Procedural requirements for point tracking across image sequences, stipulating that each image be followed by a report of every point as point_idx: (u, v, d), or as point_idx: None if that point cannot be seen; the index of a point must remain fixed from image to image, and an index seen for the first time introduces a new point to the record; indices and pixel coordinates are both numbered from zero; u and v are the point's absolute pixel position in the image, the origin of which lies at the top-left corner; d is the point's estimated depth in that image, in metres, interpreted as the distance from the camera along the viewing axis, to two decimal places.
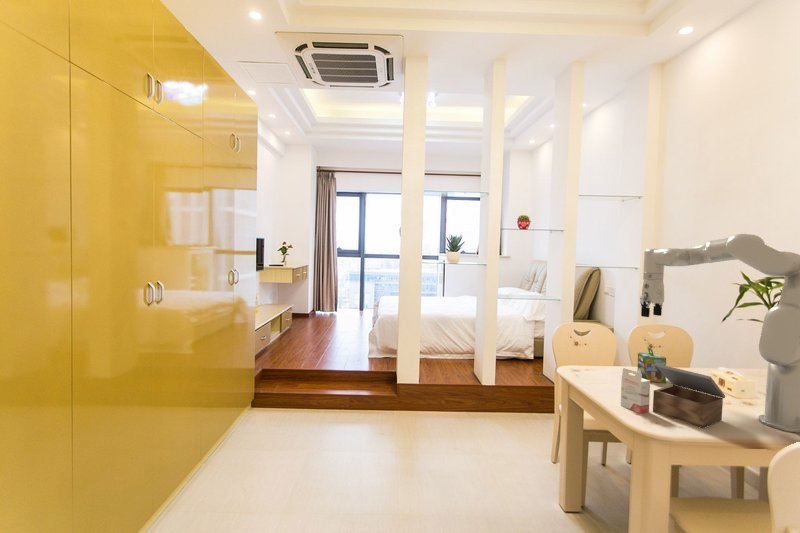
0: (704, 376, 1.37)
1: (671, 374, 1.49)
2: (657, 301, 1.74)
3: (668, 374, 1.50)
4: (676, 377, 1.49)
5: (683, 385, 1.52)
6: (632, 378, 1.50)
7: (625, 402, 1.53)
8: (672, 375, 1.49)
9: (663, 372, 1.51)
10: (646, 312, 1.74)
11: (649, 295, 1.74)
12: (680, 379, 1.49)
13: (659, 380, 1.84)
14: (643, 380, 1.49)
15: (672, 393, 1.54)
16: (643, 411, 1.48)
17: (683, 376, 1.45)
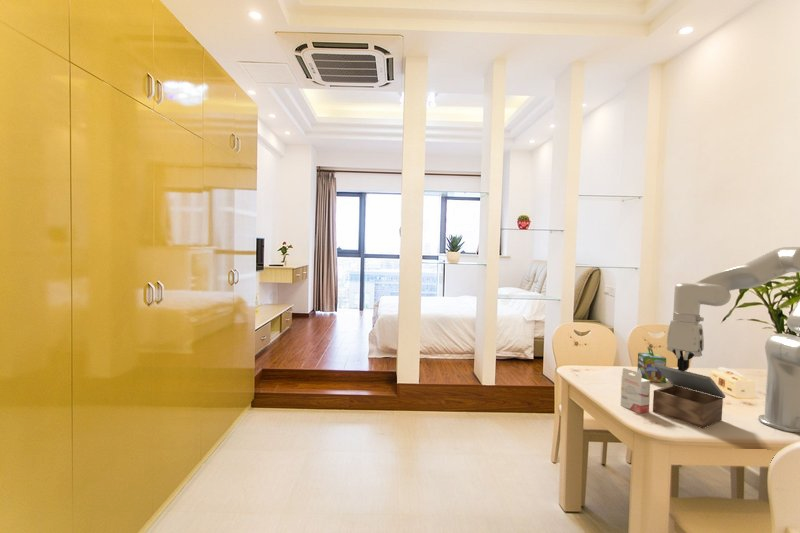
0: (704, 377, 1.37)
1: (671, 374, 1.49)
2: None
3: (668, 374, 1.50)
4: (676, 377, 1.49)
5: (683, 385, 1.52)
6: (632, 378, 1.50)
7: (625, 402, 1.53)
8: (672, 375, 1.49)
9: (663, 372, 1.51)
10: None
11: (700, 349, 1.40)
12: (680, 379, 1.49)
13: (659, 380, 1.84)
14: (643, 380, 1.49)
15: (672, 393, 1.54)
16: (643, 411, 1.48)
17: (682, 376, 1.45)
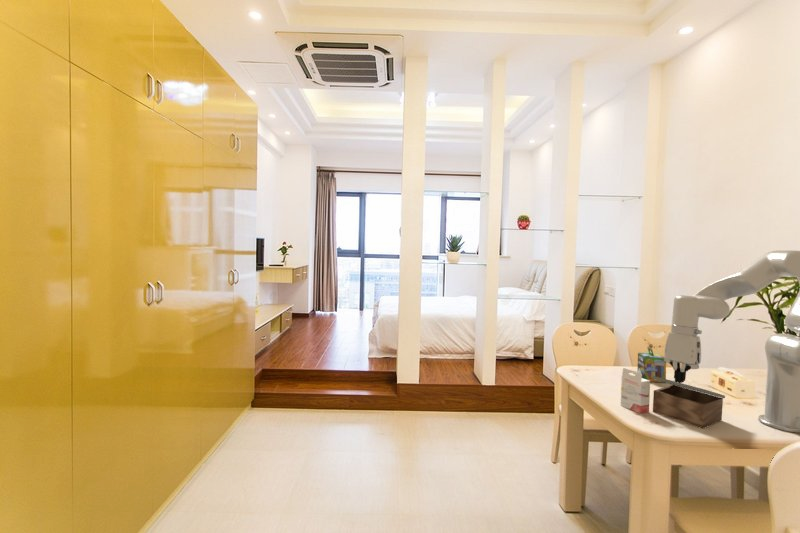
0: (700, 389, 1.36)
1: None
2: None
3: None
4: None
5: None
6: (632, 378, 1.50)
7: (625, 402, 1.53)
8: (670, 383, 1.48)
9: None
10: None
11: (697, 362, 1.40)
12: (678, 385, 1.48)
13: None
14: (643, 380, 1.49)
15: (672, 393, 1.54)
16: (643, 411, 1.48)
17: None
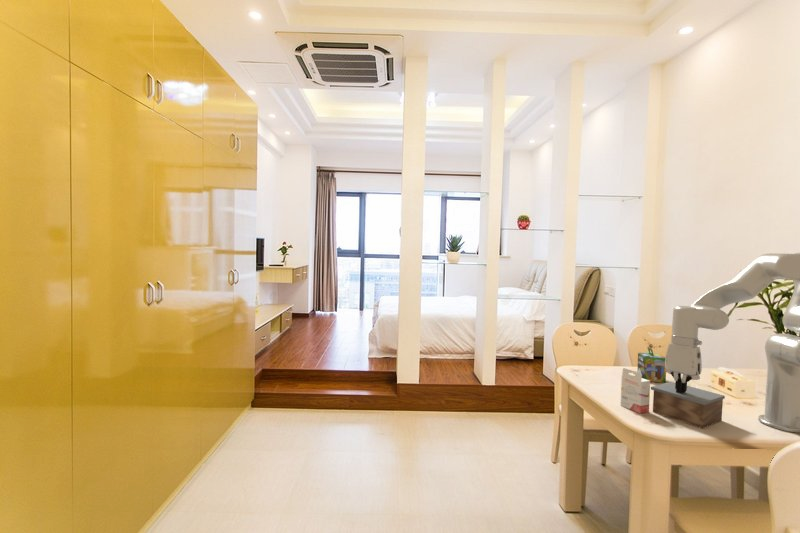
0: (698, 402, 1.36)
1: None
2: None
3: None
4: None
5: None
6: (632, 378, 1.50)
7: (625, 402, 1.53)
8: None
9: None
10: None
11: None
12: None
13: (659, 380, 1.84)
14: (643, 380, 1.49)
15: None
16: (643, 411, 1.48)
17: None
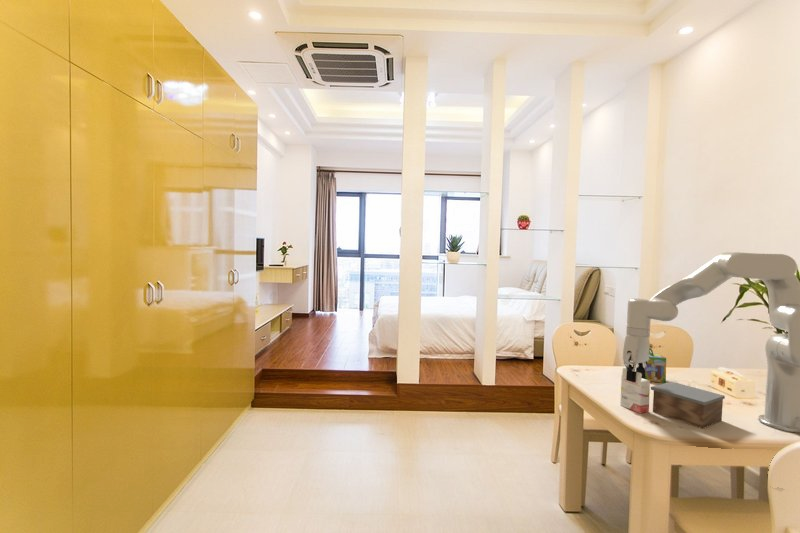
0: (698, 402, 1.36)
1: None
2: None
3: None
4: None
5: None
6: None
7: (625, 402, 1.53)
8: None
9: None
10: None
11: None
12: None
13: (659, 380, 1.84)
14: (643, 380, 1.49)
15: None
16: (643, 411, 1.48)
17: None
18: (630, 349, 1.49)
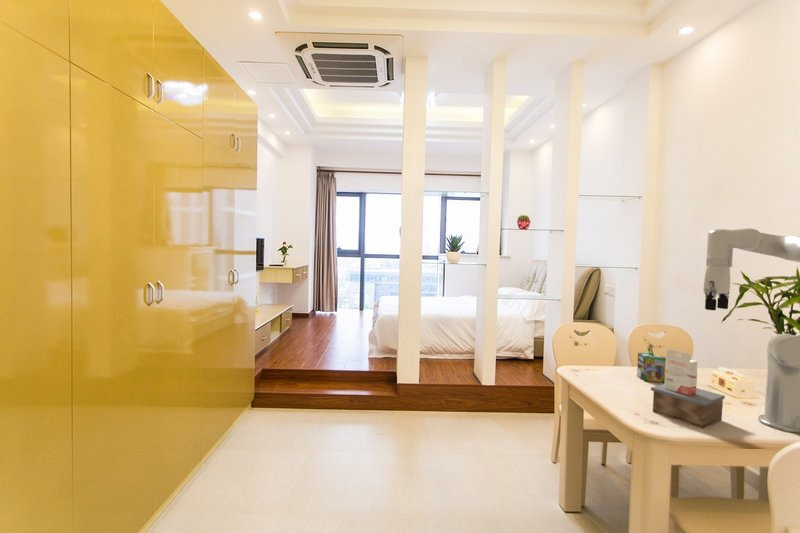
0: (698, 402, 1.36)
1: None
2: None
3: None
4: None
5: None
6: (679, 359, 1.44)
7: (670, 384, 1.46)
8: None
9: None
10: None
11: None
12: None
13: (659, 380, 1.84)
14: (690, 361, 1.43)
15: None
16: (691, 393, 1.42)
17: None
18: (712, 279, 1.47)
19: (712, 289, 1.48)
